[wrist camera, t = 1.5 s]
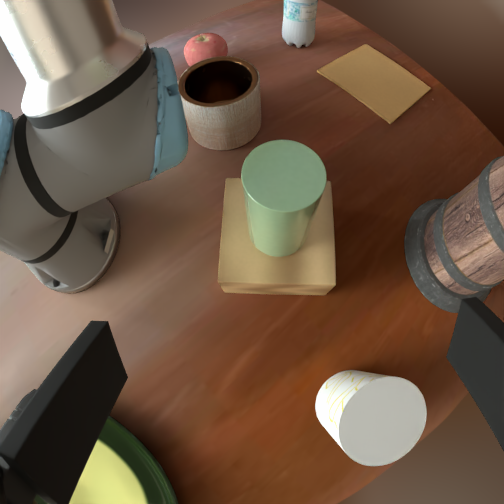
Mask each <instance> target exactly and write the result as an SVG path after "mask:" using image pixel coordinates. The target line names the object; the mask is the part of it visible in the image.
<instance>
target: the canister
mask: <svg viewBox="0 0 504 504" xmlns="http://www.w3.org/2000/svg"><path fill="white" fill-rule="evenodd" d="M241 178H242V186H243V194H244V202H245V210H246V218H247V226H248V233H249V237H250V239H251V241H252V243H253V244H254V246H255V247H256V248H257V249H259V250H260V251H261V252H263V253H265V254H267V255H270V256H275V257H283V256H288V255H291V254H293V253H295V252H296V251H298V250H299V249H300V248H301V247H302V246H303V245H304V243H305V241H306V240H307V237H308V234H309V231H310V229H311V226H312V223H313V220H314V218H315V215H316V212H317V209H318V206H319V204H320V201H321V198H322V195H323V192H324V189H325V186H326V181H327V175H326V170H325V166H324V164H323V162H322V160H321V159H320V157H319V156H318V155H317V154H316V153H315V152H314V151H313V150H312V149H310V148H309V147H307V146H305V145H304V144H301V143H299V142H295V141H291V140H273V141H269V142H266V143H263V144H261V145H259V146H258V147H256V148H255V149H254V150H253V151H251V152H250V154H249V155H248V156H247V158H246V159H245V161H244V163H243V166H242V171H241Z"/></svg>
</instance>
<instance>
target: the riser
mask: <svg viewBox="0 0 504 504" xmlns="http://www.w3.org/2000/svg"><path fill="white" fill-rule="evenodd" d="M218 283H219V284H220V286H221V287H222V289H223V290H224V292H225V293H252V294H287V295H326V294H327V293H328V292H329V291H330V290H331V289H332V288H333V287H334V286H335V285H336V262H335V237H334V219H333V203H332V189H331V181H326V186H325V189H324V192H323V195H322V198H321V201H320V204H319V206H318V209H317V212H316V215H315V218H314V220H313V223H312V226H311V229H310V231H309V234H308V237H307V240H306V241H305V243H304V245H303V246H302V247H301V248H300V249H299V250H298V251H296V252H295V253H293V254H291V255H288V256H283V257H275V256H270V255H267V254H265V253H263V252H261V251H260V250H259V249H257V248H256V247H255V246H254V244H253V243H252V241H251V239H250V237H249V233H248V226H247V218H246V210H245V202H244V194H243V186H242V178H226V182H225V194H224V205H223V217H222V230H221V243H220V256H219V271H218Z"/></svg>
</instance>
